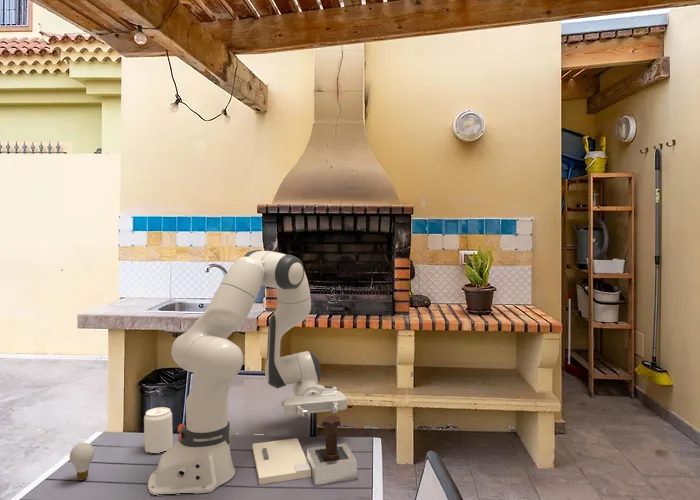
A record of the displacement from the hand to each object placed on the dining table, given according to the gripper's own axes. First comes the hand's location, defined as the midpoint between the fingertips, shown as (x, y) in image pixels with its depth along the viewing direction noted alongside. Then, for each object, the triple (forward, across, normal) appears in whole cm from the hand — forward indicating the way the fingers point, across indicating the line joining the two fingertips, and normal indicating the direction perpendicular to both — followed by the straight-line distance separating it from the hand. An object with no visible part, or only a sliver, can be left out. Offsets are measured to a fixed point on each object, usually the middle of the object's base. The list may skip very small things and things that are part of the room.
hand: (320, 412), depth 146 cm
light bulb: (-3, -66, +13) cm, 67 cm away
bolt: (+13, 0, +12) cm, 18 cm away
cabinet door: (+3, -13, +12) cm, 18 cm away
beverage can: (-17, -48, +13) cm, 52 cm away
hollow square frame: (+13, 0, +12) cm, 18 cm away
